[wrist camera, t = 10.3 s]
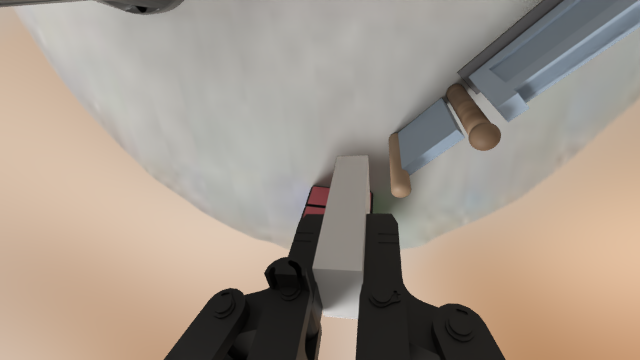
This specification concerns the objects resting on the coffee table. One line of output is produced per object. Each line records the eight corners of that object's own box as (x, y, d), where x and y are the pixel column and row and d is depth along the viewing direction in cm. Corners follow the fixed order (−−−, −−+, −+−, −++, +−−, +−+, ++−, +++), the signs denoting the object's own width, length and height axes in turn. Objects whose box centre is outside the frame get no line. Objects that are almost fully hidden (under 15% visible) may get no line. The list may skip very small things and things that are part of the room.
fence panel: (385, 139, 39) (387, 189, 29) (439, 95, 34) (460, 138, 25) (395, 148, 39) (399, 200, 30) (449, 106, 35) (474, 152, 25)
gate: (477, 88, 32) (507, 122, 24) (468, 77, 31) (496, 108, 24) (636, -33, 24) (753, -39, 17) (627, -51, 24) (743, -65, 16)
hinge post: (440, 92, 34) (466, 142, 23) (458, 77, 33) (494, 124, 22) (452, 106, 34) (483, 160, 24) (470, 92, 33) (511, 143, 23)
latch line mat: (457, 72, 32) (457, 73, 32) (613, -59, 24) (615, -60, 24) (475, 93, 33) (476, 94, 33) (632, -26, 25) (634, -26, 25)
